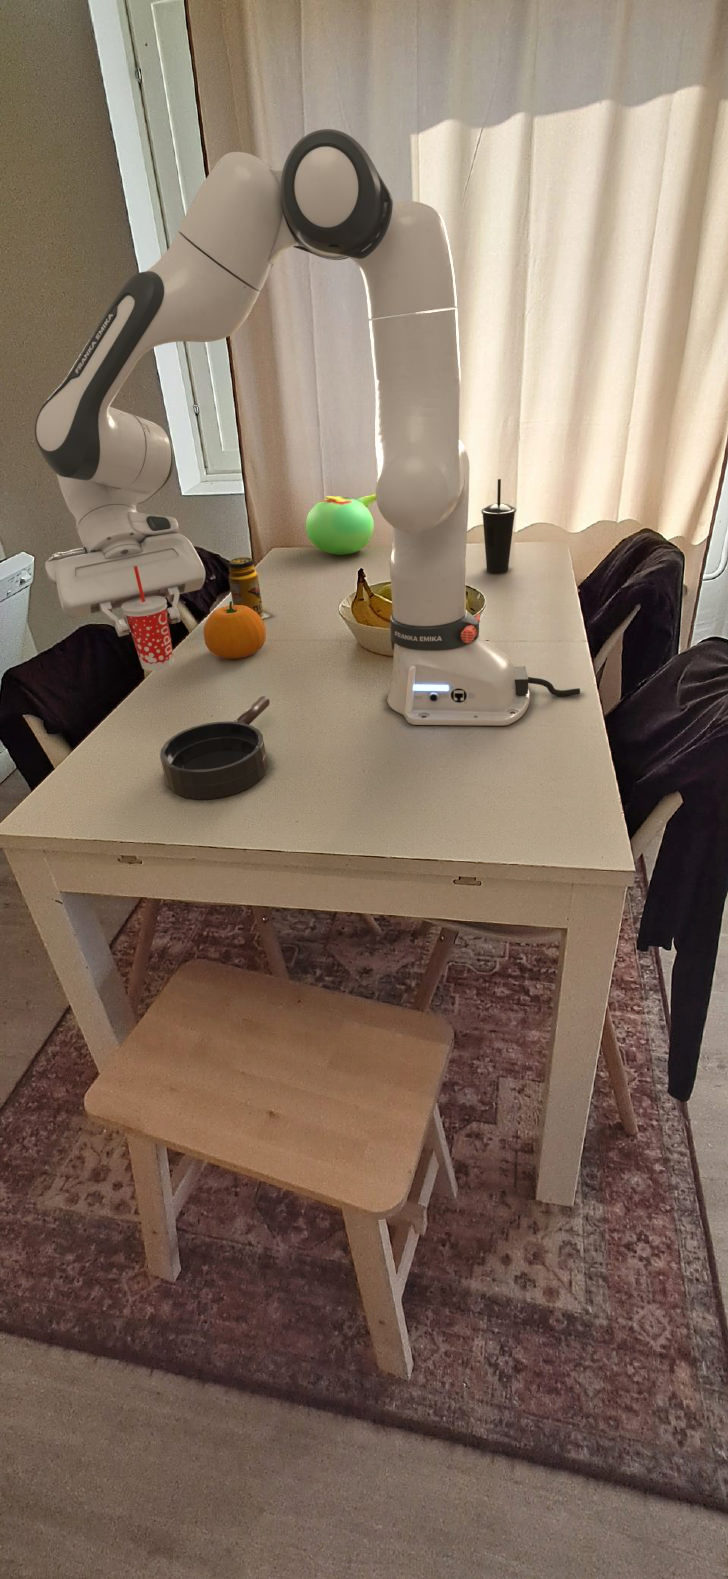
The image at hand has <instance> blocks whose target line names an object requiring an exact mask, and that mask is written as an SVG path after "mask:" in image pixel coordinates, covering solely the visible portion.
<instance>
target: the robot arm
mask: <svg viewBox="0 0 728 1579" xmlns="http://www.w3.org/2000/svg"><path fill="white" fill-rule="evenodd" d="M178 228H179V229H178V231H177V233H176V235H175V237H174V239H173V241H172V242H171V244H170V246H169V247H168V249H167V250H166V252H165V253H164V254H163V255H162V256H161V258H159V260H158V261H157V262H156V263H155V264H153V265H152V266H151V267H150V268H149V269H147V270H146V271H141V272H137V273H135V274H133V275H132V276H131V277H129V278H128V280H127V281H126V282H125V283H124V285H123V286H122V287H121V288H120V289H119V291H118V292H117V294H116V296H115V297H114V299H113V300H112V301H111V303H110V305H109V306H108V307H107V310H106V311H105V313H104V314H103V316H102V317H101V319H100V321H99V322H98V324H97V326H96V327H95V329H94V331H93V332H92V334H91V336H90V337H89V339H88V341H87V342H86V344H85V345H84V347H83V349H82V350H81V351H80V354H79V355H78V357H77V359H76V360H75V362H74V363H73V366H72V367H71V369H70V370H69V372H68V374H67V375H66V376H65V378H64V380H63V381H62V382H61V384H60V385H59V386H58V387H57V388H56V389H55V390H54V391H53V393H52V394H50V395H49V397H48V398H47V399H46V401H45V402H44V403H43V404H42V405H41V408H39V409H40V410H39V411H38V413H37V415H36V419H35V422H34V423H35V424H34V438H35V441H36V445H37V448H38V449H39V452H40V454H41V455H42V457H43V459H44V460H45V462H46V464H47V465H48V466H49V468H50V469H51V470H52V471H53V472H54V473H55V474H56V478H57V481H58V485H59V488H60V491H61V493H62V496H63V499H64V502H65V504H66V506H67V509H68V511H70V513H71V514H72V515H73V517H74V518H75V526H76V531H77V534H78V536H79V539H80V541H81V544H82V546H83V547H80V548H75V549H71V550H69V551H64V552H63V551H62V552H54V553H53V554H52V555H51V557H49V558H47V560H46V561H45V563H44V570H45V572H46V575H47V578H48V579H49V581H50V582H51V583H53V584H55V585H56V590H57V595H58V599H59V603H60V606H61V610H62V612H63V614H64V615H65V616H67V617H69V618H70V619H77V618H81V617H86V616H91V615H95V614H99V613H100V615H101V618H102V619H103V620H104V621H106V622H107V623H108V624H109V625H110V626H112V627H113V628H114V629H115V631H116V633H117V636H118V638H119V637H124V636H128V635H130V634H131V631H130V628H129V624H128V621H127V618H126V617H124V618H119V617H118V616H117V615H115V614H114V613H113V610H117V609H122V608H121V606H122V604H123V603H125V602H127V601H129V600H132V599H135V598H139V597H141V596H140V592H139V588H138V584H137V579H136V575H135V571H134V566H137V568H138V572H139V576H140V581H141V585H142V589H143V594H144V596H161V597H164V598H165V599H166V598H167V602H169V603H172V606H170V607H167V608H166V611H167V617H168V624H169V625H173V624H177V623H181V621H182V617H181V613H180V610H179V608H178V605H179V601H180V595H182V594H187V593H191V592H195V591H199V590H201V589H202V588H203V586H204V584H205V581H206V569H205V567H204V564H203V562H202V560H201V558H200V556H199V554H198V552H197V550H196V549H195V547H194V545H193V543H192V542H191V541H190V540H189V539H188V538H187V536H185V535H183V534H181V533H180V528H179V523H178V520H177V519H176V518H175V517H174V516H169V515H157V514H156V515H155V514H150V513H149V514H148V513H142V512H138V509H137V505H140V504H143V503H145V502H147V501H148V500H150V498H152V497H153V496H154V495H156V494H157V493H158V492H159V491H161V489H162V488H163V487H165V485H166V484H167V483H168V482H169V480H170V478H171V476H172V475H173V471H174V465H175V455H174V454H175V453H174V448H173V443H172V441H171V438H170V436H169V434H168V432H167V431H166V429H165V428H164V427H162V425H160V424H157V423H155V422H153V421H150V420H148V419H145V418H144V417H140V416H137V415H136V414H132V413H130V412H125V411H123V410H120V409H117V408H115V407H112V406H111V405H112V403H113V401H114V400H115V398H116V397H117V395H118V393H119V392H120V390H121V389H122V387H123V385H124V384H125V382H126V380H127V379H128V377H129V376H130V375H131V373H132V371H133V370H134V368H135V366H136V365H137V363H138V362H139V360H141V358H142V357H143V356H144V355H145V354H146V353H147V352H149V351H151V350H152V349H154V348H156V347H159V346H161V345H165V344H171V343H180V342H181V343H182V342H193V343H209V342H216V341H220V340H224V339H226V338H228V337H231V335H234V334H235V333H236V332H237V331H238V330H239V329H240V328H241V327H242V326H243V324H244V322H245V321H246V320H247V318H248V317H249V315H250V313H251V311H252V310H253V308H254V305H255V303H256V302H257V300H258V297H259V296H260V293H261V291H262V289H263V288H264V285H265V283H266V281H267V278H268V277H269V275H270V272H271V271H272V269H273V267H274V265H275V264H276V262H277V260H278V259H279V258H280V256H281V255H283V253H284V252H285V251H286V250H288V249H290V248H292V247H293V248H295V249H297V250H301V251H303V252H307V253H309V254H312V255H315V256H317V257H319V258H322V259H324V260H325V259H326V260H331V261H341V260H346V259H350V260H352V261H353V262H354V263H355V265H356V266H357V268H358V269H359V272H360V274H361V277H362V280H363V284H364V285H363V286H364V290H365V298H366V306H367V307H366V308H367V309H366V310H367V319H368V328H369V337H370V339H369V340H370V341H369V342H370V349H371V351H370V352H371V358H372V368H373V379H374V392H375V393H374V398H375V410H374V411H375V412H374V413H375V414H374V415H375V417H374V439H375V440H374V452H375V454H374V455H375V494H376V500H375V502H376V505H377V508H378V510H379V512H380V514H381V516H382V518H383V519H384V520H385V521H386V522H387V523H388V524H389V525H390V526H392V534H391V535H392V536H391V549H390V560H389V574H390V575H389V576H390V595H391V608H392V609H391V610H392V613H391V614H390V616H389V639H390V642H391V649H392V651H393V653H392V654H393V655H392V656H393V657H392V672H391V680H390V686H389V690H388V694H387V699H386V700H387V704H388V706H389V707H390V708H391V709H392V710H393V711H395V712H397V713H398V714H400V715H402V716H403V717H404V718H405V720H406V721H407V723H409V724H410V725H414V726H493V727H494V726H495V727H496V726H509V725H512V724H513V723H515V722H516V721H518V720H519V719H521V718H522V717H523V715H524V714H525V713H526V711H527V710H528V708H529V706H530V702H531V694H530V688H529V684H533V685H538V686H539V685H540V686H543V687H545V688H546V689H547V690H548V692H549V694H551V695H553V696H557V697H569V696H576V695H577V696H578V695H581V688H579V687H578V688H577V687H575V688H570V689H563V690H562V689H556V688H555V687H554V685H553V684H552V683H551V682H550V681H548V680H546V679H543V678H539V677H532V676H529V675H528V672H527V668H526V666H524V665H523V666H514V665H513V662H512V659H511V658H510V657H509V656H508V655H507V654H506V653H504V652H503V651H501V650H500V649H498V648H497V647H496V646H494V645H493V644H491V643H490V642H489V641H487V640H486V639H485V638H483V637H482V636H481V635H480V623H481V613H477V614H476V616H475V615H473V614H472V613H471V612H469V610H468V609H466V608H467V586H466V585H467V584H466V583H467V582H466V581H467V580H466V579H467V575H466V574H467V573H466V572H467V571H466V570H467V568H466V567H467V565H466V564H467V543H468V542H467V540H468V527H469V526H468V524H469V502H470V501H469V500H470V460H469V455H468V453H467V452H468V451H467V449H466V448H465V445H464V444H463V442H462V441H461V440H460V396H461V395H460V394H461V365H460V364H461V363H460V362H461V360H460V344H459V342H460V341H459V324H458V323H459V322H458V307H457V306H458V305H457V304H458V302H457V290H456V282H455V280H456V279H455V272H454V266H453V258H452V253H451V248H450V243H449V242H450V241H449V238H448V233H447V229H446V225H445V222H444V219H443V217H442V216H441V215H440V213H439V212H438V211H437V210H436V209H435V208H434V207H432V206H430V205H429V204H426V203H423V202H419V201H412V200H411V201H408V200H407V201H394V199H393V196H392V193H391V192H390V191H389V189H388V187H387V185H386V183H385V182H384V180H383V178H382V177H381V175H380V173H379V171H378V170H377V167H376V166H375V164H374V162H373V161H372V159H371V157H370V155H369V153H368V152H367V150H365V149H364V147H363V146H362V145H361V144H360V142H358V141H357V140H356V139H355V138H354V137H352V135H351V136H350V135H349V134H347V133H346V132H344V131H341V130H338V129H331V128H322V129H318V130H315V131H312V132H310V133H308V134H306V135H305V136H303V137H302V138H301V139H299V140H298V142H297V143H296V144H295V145H294V146H293V148H292V149H291V150H290V151H289V153H288V155H287V157H286V160H285V162H284V164H283V168H282V169H279V168H278V169H277V168H275V167H272V166H271V165H269V164H268V163H266V162H265V161H264V160H262V158H260V157H257V156H256V155H253V154H250V153H247V152H244V151H231V152H227V153H226V154H223V156H222V157H220V158H219V160H217V162H216V164H215V165H214V167H213V168H212V169H211V170H210V172H209V174H208V175H207V177H206V178H205V180H204V181H203V183H202V185H201V186H200V188H199V189H198V191H197V193H196V195H195V197H194V198H193V200H192V202H191V204H190V205H189V208H188V209H187V211H186V213H185V216H184V217H183V219H182V221H181V224H180V227H178ZM454 307H455V308H454Z"/></svg>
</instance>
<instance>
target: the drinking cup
mask: <svg viewBox="0 0 728 1579" xmlns="http://www.w3.org/2000/svg"><path fill="white" fill-rule="evenodd" d="M501 490H502V478H498V479H497V496H496V498H497V499H496V500H497V502H496V503H492V504H489V505H488V506H485V507H484V508H482V509H481V510H480V512H481V514H482V524H483V537H484V549H485V550H484V551H485V562H486V565H485V566H486V572H487V573H489V574H494V575H495V574H497V575H498V574H505V573H507V572H508V571H509V564H510V557H511V549H512V548H511V547H512V539H513V533H514V532H513V530H514V523H515V522H514V521H515V515H516V512H517V508H516V507H515V506H512V505H510V504H508V503H503V502H501V500H502V498H501V496H502V495H501V494H502V493H501V492H502V491H501Z"/></svg>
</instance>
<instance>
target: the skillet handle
mask: <svg viewBox="0 0 728 1579" xmlns="http://www.w3.org/2000/svg"><path fill="white" fill-rule="evenodd" d="M270 702H271V701H270V699H269V697H268V696H265V695H263V696H260V697H259V698H258V699H257V700H256V701H254V702H253V703H252V704H251V705H250V706H249V707H248V708H247V709H246V710H245V711H244V712H243V713H242V714H241V715H240V716H239V717H238V718H236V719H235V720H233V721H232V722H241V723H245V724H248V725H251V724H252V723H253V722H254V721H255V720H256V719H257V718H258V717H259V716H260V715H261V714H262V713H263V712H264V711H265V710H266V709H267V708H268V707H269V705H270V704H271V703H270ZM237 727H239V728H240V726H231V725H230V729H231V732H232V731H233V732H236V733H241V729H239V728H238V729H237ZM234 729H235V730H234ZM238 730H239V731H238ZM237 731H238V732H237Z"/></svg>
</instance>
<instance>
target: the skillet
mask: <svg viewBox="0 0 728 1579" xmlns="http://www.w3.org/2000/svg"><path fill="white" fill-rule="evenodd" d="M230 725H231V726H240V728H239V727H237V729H238V728H239V729H241V733H236V732H233V731H232V732H231V729H230ZM234 730H235V729H234ZM238 731H239V730H238ZM238 731H237V732H238ZM266 751H267V750H266V746H265V740H264V735H263V733H262V732H261V731H260V730H259V729H258V728H256V727H255V726H253V725H251V724H249V725H248V724H245V723H241V722H233V721H215V722H207V723H201V724H199V725H195V726H192V727H189V728H187V729H184V730H182V731H180V732H178V733H176V734H175V735H173V736H171V737H170V738H169V739H167V741H165V743H164V744H163V745H162V747H161V748H160V752H159V753H160V754H159V758H160V762H161V763H160V764H161V766H162V770H163V774H164V779H165V783H166V784H167V787H168V788H169V789H170V790H171V792H174V794H176V795H179V796H182V797H186V798H189V799H190V798H191V799H197V800H198V799H199V800H201V799H203V800H205V799H207V800H208V799H209V800H210V799H215V798H223V797H227V796H230V795H234V794H237V793H240V792H242V791H244V790H246V789H249V788H251V787H252V786H253V785H255V784H256V783H257V782H259V781H260V780H261V779H262V778H263V777H264V776H265V775H266V772H267V770H268V767H269V765H268V758H267V752H266Z"/></svg>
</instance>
